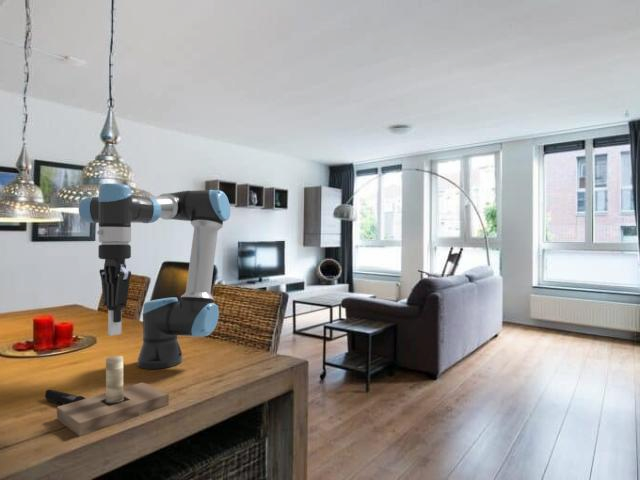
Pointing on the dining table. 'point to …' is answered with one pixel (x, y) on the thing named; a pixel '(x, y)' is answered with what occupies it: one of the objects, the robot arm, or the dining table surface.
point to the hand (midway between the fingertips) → (114, 334)
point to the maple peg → (114, 380)
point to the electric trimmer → (61, 397)
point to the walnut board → (110, 408)
